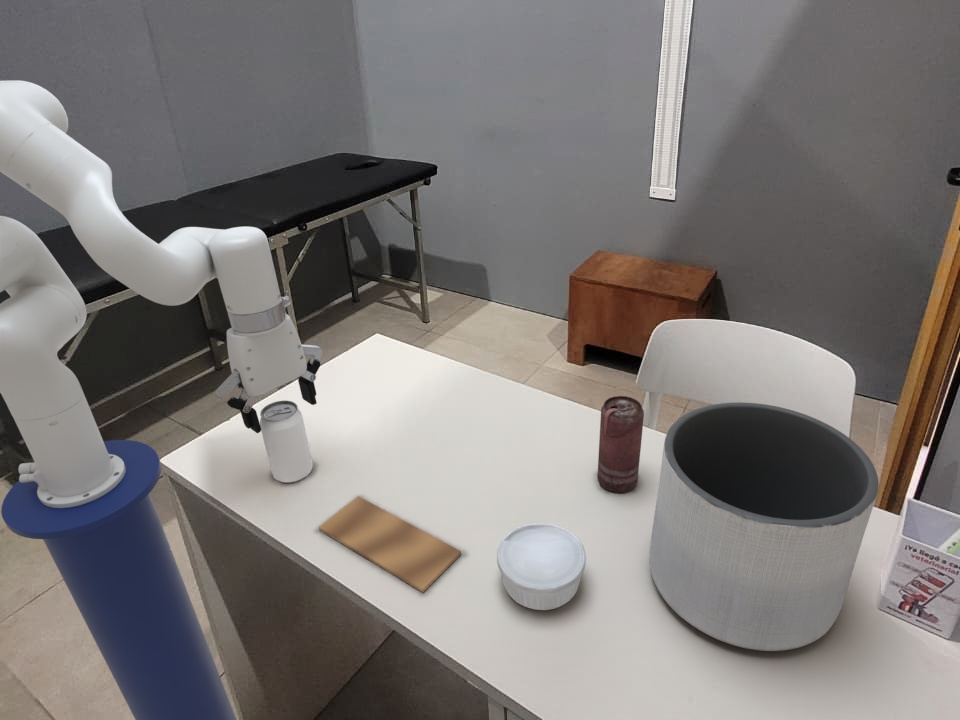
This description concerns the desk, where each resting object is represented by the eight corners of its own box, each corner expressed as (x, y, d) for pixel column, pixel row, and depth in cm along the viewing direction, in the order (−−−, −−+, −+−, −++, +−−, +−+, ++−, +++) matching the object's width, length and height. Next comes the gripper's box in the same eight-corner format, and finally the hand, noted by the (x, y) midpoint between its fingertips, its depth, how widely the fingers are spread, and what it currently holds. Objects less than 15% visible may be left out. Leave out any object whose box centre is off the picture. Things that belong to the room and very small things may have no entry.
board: (319, 530, 94) (318, 527, 94) (358, 498, 99) (358, 496, 99) (423, 593, 83) (422, 589, 83) (461, 554, 89) (461, 551, 88)
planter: (658, 504, 95) (673, 388, 86) (829, 538, 88) (865, 416, 78) (635, 628, 77) (650, 499, 67) (848, 684, 70) (899, 549, 60)
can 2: (587, 481, 101) (591, 406, 94) (613, 463, 104) (618, 389, 97) (619, 500, 97) (626, 423, 90) (645, 480, 100) (653, 405, 93)
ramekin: (552, 539, 90) (552, 510, 88) (602, 594, 82) (604, 564, 79) (482, 571, 86) (480, 542, 83) (527, 633, 77) (527, 603, 75)
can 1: (271, 464, 108) (255, 404, 102) (310, 455, 110) (297, 395, 104) (275, 488, 102) (258, 426, 96) (316, 477, 104) (303, 416, 98)
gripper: (296, 289, 100) (317, 384, 108) (187, 330, 89) (219, 431, 98) (323, 301, 95) (343, 399, 103) (211, 346, 85) (243, 451, 93)
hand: (283, 415), depth 100 cm, fingers open, 9 cm apart
